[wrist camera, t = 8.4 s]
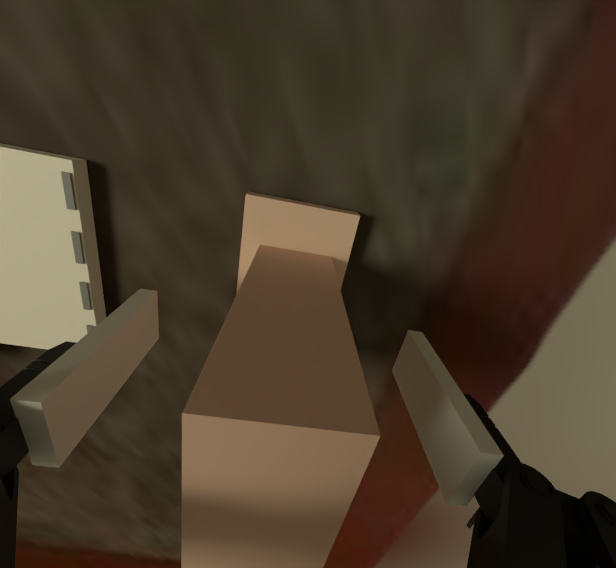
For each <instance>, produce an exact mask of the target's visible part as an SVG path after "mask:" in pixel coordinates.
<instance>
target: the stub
mask: <svg viewBox="0 0 616 568" xmlns="http://www.w3.org/2000/svg"><path fill="white" fill-rule="evenodd" d="M359 219H360V215H359V214H358V213H357V212H353V211H348V210H343V209H337V208H332V207H327V206H322V205H317V204H311V203H306V202H301V201H296V200H291V199H285V198H280V197H275V196H270V195H265V194H260V193H254V192H248V193H247V194H246V198H245V208H244V219H243V230H242V240H241V251H240V262H239V272H238V283H237V294H236V297H235V299H234V302H233V304H232V306H231V308H230V310H229V313H228V315H227V317H226V319H225V321H224V323H223V326H222V328H221V330H220V332H219V334H218V336H217V339H216V341H215V343H214V345H213V347H212V349H211V352H210V354H209V356H208V358H207V360H206V363H205V365H204V367H203V369H202V371H201V373H200V376H199V378H198V380H197V382H196V384H195V386H194V389H193V391H192V393H191V395H190V397H189V399H188V402H187V404H186V406H185V408H184V410H183V412H182V566H181V568H323V566H324V564H325V562H326V559H327V557H328V555H329V552H330V550H331V548H332V546H333V543H334V541H335V539H336V536H337V534H338V532H339V530H340V527H341V525H342V523H343V520H344V518H345V516H346V514H347V511H348V509H349V507H350V504H351V502H352V500H353V498H354V495H355V493H356V491H357V488H358V486H359V484H360V482H361V479H362V477H363V475H364V472H365V470H366V468H367V466H368V463H369V461H370V459H371V456H372V454H373V452H374V449H375V447H376V445H377V443H378V440H379V438H380V433H379V429H378V426H377V422H376V418H375V415H374V411H373V407H372V404H371V400H370V396H369V393H368V389H367V386H366V382H365V378H364V375H363V371H362V367H361V364H360V360H359V356H358V353H357V349H356V345H355V342H354V338H353V334H352V331H351V327H350V323H349V320H348V316H347V313H346V309H345V305H344V302H343V298H342V294H341V291H340V290H341V287H342V283H343V279H344V275H345V272H346V268H347V264H348V260H349V257H350V253H351V249H352V245H353V242H354V238H355V234H356V230H357V226H358V223H359Z"/></svg>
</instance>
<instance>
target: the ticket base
mask: <svg viewBox="0 0 616 568" xmlns="http://www.w3.org/2000/svg"><path fill="white" fill-rule="evenodd" d="M105 318H106V311H105V303H104V295H103V287H102V279H101V272H100V264H99V256H98V248H97V240H96V232H95V225H94V217H93V209H92V201H91V193H90V185H89V178H88V170H87V162H86V160H85V159H79V158H74V157H69V156H64V155H59V154H53V153H48V152H43V151H38V150H33V149H28V148H22V147H17V146H12V145H7V144H2V143H0V343H2V344H10V345H17V346H25V347H33V348H40V349H48V350H49V349H51V348H53V347H55V346H57V345H59V344H62V343H64V342H66V341H68V342H75V343H77V342H78V341H79V340H80V339H82V338H83V337H84V336H85V335H86V334H88V333H89V332H90V331H91V330H92V329H93V328H95V327H96V326H97V325H98V324H99V323H101V322H102V321H103V320H104V319H105Z"/></svg>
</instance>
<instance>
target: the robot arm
mask: <svg viewBox="0 0 616 568" xmlns="http://www.w3.org/2000/svg"><path fill="white" fill-rule="evenodd" d="M158 339H159V326H158V299H157V291H153V290H146V289H140V290H138V291H137V292H136V293H135V294H134V295H132V296H131V297H130V298H129V299H128V300H127V301H125V302H124V303H123V304H122V305H121V306H119V307H118V308H117V309H116V310H115V311H114V312H112V313H111V314H110V315H109V316H108V317H106V318H105V319H104V320H103V321H102V322H101V323H99V324H98V325H97V326H96V327H95V328H93V329H92V330H91V331H90V332H89V333H88V334H86V335H85V336H84V337H83V338H82V339H80V340H79V341H78V342H77V343H75V342H68V341H66V342H64V343H62V344H59V345H57V346H55V347H53V348H51V349H49V350H48V351H46V352H45V353H44V354H43V355H41V356H40V357H39V358H37V359H36V361H35V362H32V363H31V364H30V365H28V366H27V367H26V368H25V370H22V371H21V372H19V373H18V374H17V375H16V376H14V377H13V378H12V379H10V380H9V381H8V382H7V383H5V384H4V385H3V386H2V387H0V568H15V547H16V524H17V502H18V479H19V471H18V468H17V464H18V463H19V462H20V461H21V460H22V459H23V458H24V457H25V456H26V454H27V453H28V454H29V457H30V460H31V463H32V465H38V466H48V467H60V466H61V465H62V463H63V462H64V461H65V459H66V458H67V457H68V456H69V454H70V453H71V452H72V450H73V449H74V448H75V446H76V445H77V444H78V443H79V441H80V440H81V439H82V437H83V436H84V435H85V433H86V432H87V431H88V430H89V428H90V427H91V426H92V424H93V423H94V422H95V420H96V419H97V418H98V417H99V415H100V414H101V413H102V411H103V410H104V409H105V407H106V406H107V405H108V404H109V402H110V401H111V400H112V398H113V397H114V396H115V394H116V393H117V392H118V391H119V389H120V388H121V387H122V385H123V384H124V383H125V382H126V380H127V379H128V378H129V376H130V375H131V374H132V372H133V371H134V370H135V369H136V367H137V366H138V365H139V363H140V362H141V361H142V359H143V358H144V357H145V356H146V354H147V353H148V352H149V350H150V349H151V348H152V346H153V345H154V344H155V343H156V341H157V340H158ZM392 372H393V375H394V377H395V380H396V382H397V384H398V387H399V389H400V392H401V394H402V397H403V399H404V402H405V404H406V407H407V409H408V411H409V414H410V416H411V419H412V421H413V424H414V426H415V429H416V431H417V433H418V436H419V438H420V441H421V443H422V446H423V448H424V451H425V453H426V456H427V458H428V460H429V463H430V465H431V468H432V470H433V473H434V475H435V478H436V480H437V482H438V485H439V487H440V490H441V492H442V495H443V497H444V500H445V502H446V504H452V505H463V506H467V505H468V503H469V502H470V501H471V499H472V498H473V497H474V496H475V497H476V499H477V501H478V503H479V506H480V507H479V509H478V510H477V511H476V513H475V514H474V515H473V517H472V518H471V519H470V520H469V522H468V524H467V527H469V528H471V526H472V525H473V524H474V528H473V534H472V540H471V546H470V552H469V558H468V564H467V568H616V503H615V502H614V501H613V500H611V499H609V498H608V497H606V496H604V495H602V494H600V493H597V492H593V491H590V492H586V493H585V494H584V495H583V496H582V497H581V498H580V499H578V498H576V497H573V496H571V495H568V494H566V493H563V492H561V491H558V490H556V489H555V488H554V486H553V485H552V483H551V482H550V481H549V480H548V479H547V478H546V477H545V476H544V475H542V474H541V473H540V472H538V471H537V470H536V469H534V468H532V467H530V466H528V465H526V464H522V463H521V462H520V460H519V459H518V457H517V456H516V455H515V453H514V452H513V450H512V449H511V447H510V446H509V444H508V443H507V442H506V440H505V439H504V437H503V436H502V435H501V433H500V432H499V430H498V429H497V428H495V425H494V423H493V422H492V420H491V419H490V418H488V415H487V413H486V412H485V410H484V409H483V408H482V406H481V405H480V404H479V403H478V402H477V401H476V400H475V399H474V398H473V397H471V396H470V395H468V394H463V393H462V392H461V390H460V389H459V387H458V386H457V384H456V383H455V381H454V380H453V378H452V377H451V375H450V374H449V372H448V371H447V369H446V367H445V366H444V364H443V363H442V361H441V360H440V358H439V357H438V355H437V354H436V352H435V351H434V349H433V348H432V346H431V345H430V343H429V342H428V340H427V339H426V337H425V336H424V334H423V333H422V332H418V331H412V330H408V332H407V334H406V337H405V339H404V341H403V344H402V346H401V349H400V351H399V354H398V356H397V359H396V361H395V364H394V366H393V369H392Z"/></svg>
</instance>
